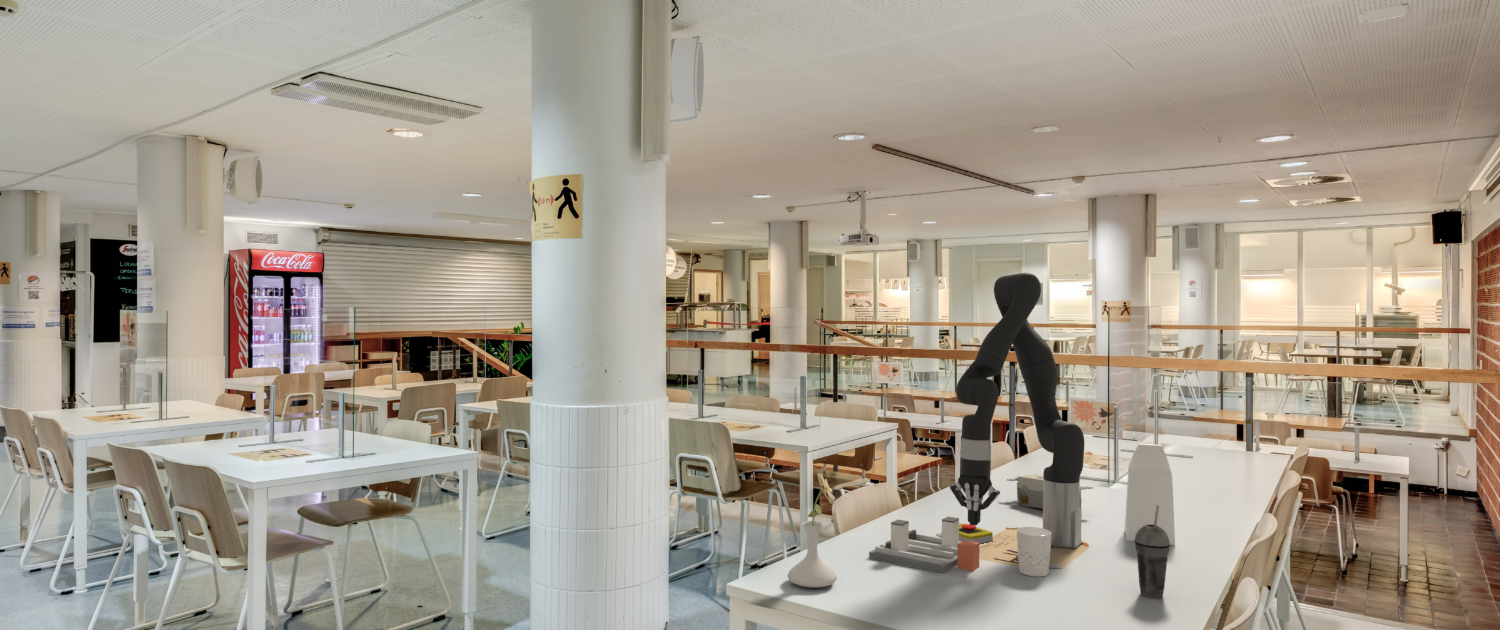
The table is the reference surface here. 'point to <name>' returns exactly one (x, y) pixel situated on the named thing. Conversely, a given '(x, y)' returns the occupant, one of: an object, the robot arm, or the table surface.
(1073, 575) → the table surface
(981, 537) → the emergency button
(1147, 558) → the beverage cup
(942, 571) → the board
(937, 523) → the table surface
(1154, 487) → the milk
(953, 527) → the off-white rectangular block
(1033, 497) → the grey labelled box
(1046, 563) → the white cup
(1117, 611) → the table surface
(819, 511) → the flower in vase
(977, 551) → the cap
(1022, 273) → the robot arm
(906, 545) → the block
